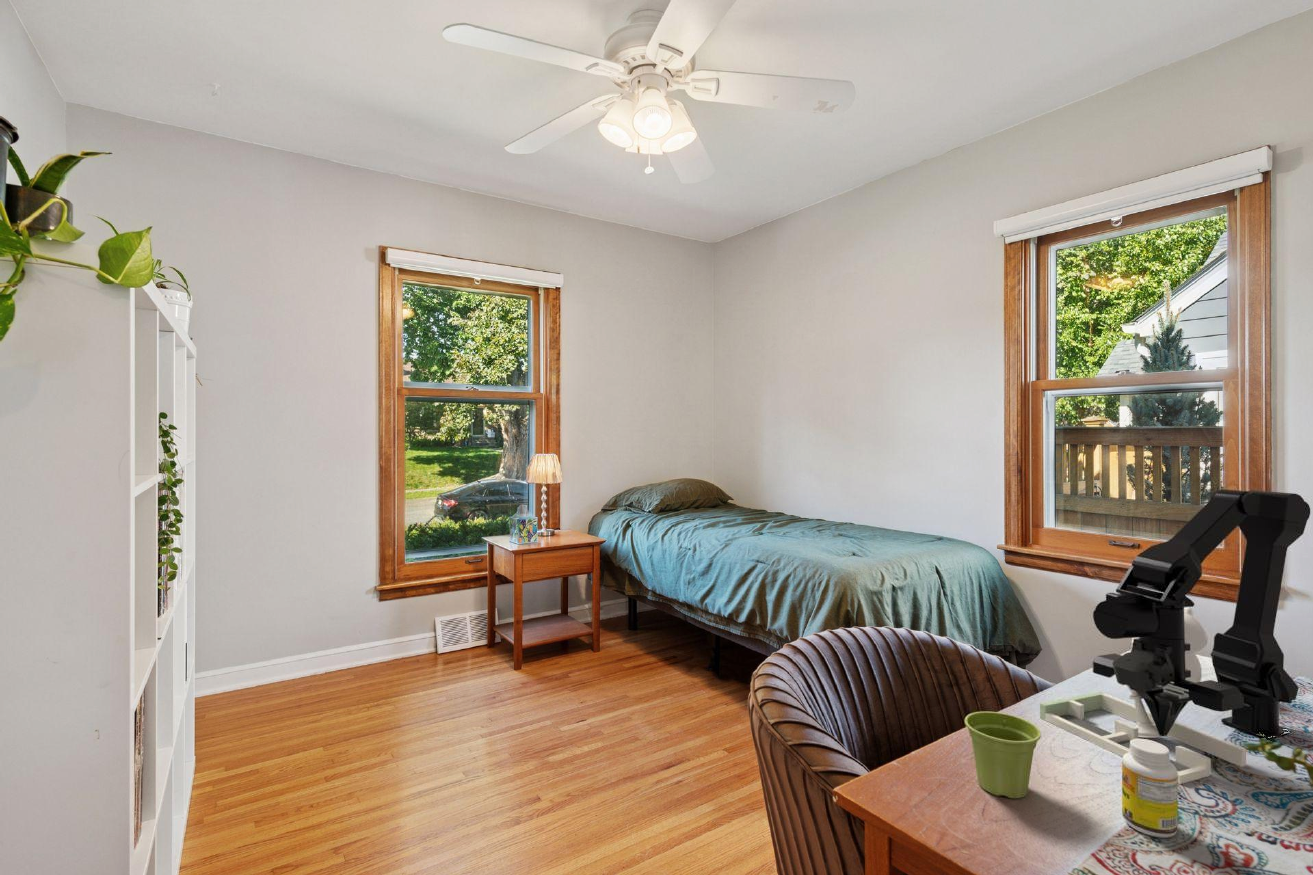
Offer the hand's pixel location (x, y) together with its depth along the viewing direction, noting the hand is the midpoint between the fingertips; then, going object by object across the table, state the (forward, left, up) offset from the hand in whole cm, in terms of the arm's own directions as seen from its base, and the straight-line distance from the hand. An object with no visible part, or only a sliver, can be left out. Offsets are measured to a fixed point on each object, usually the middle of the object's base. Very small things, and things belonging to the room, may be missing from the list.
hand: (1163, 735), depth 101 cm
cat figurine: (-28, -17, -2) cm, 33 cm away
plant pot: (+33, 0, -2) cm, 33 cm away
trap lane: (+2, -3, -2) cm, 4 cm away
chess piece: (0, -2, -1) cm, 3 cm away
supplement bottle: (+23, +13, -2) cm, 27 cm away
